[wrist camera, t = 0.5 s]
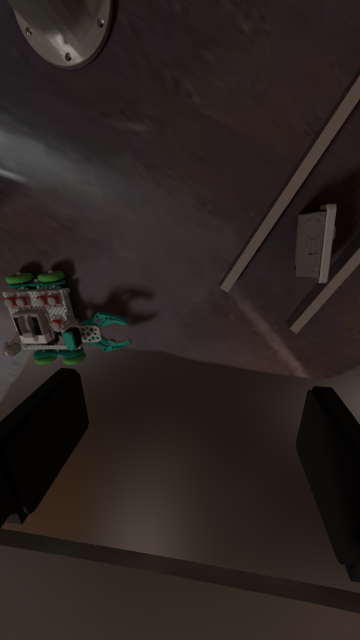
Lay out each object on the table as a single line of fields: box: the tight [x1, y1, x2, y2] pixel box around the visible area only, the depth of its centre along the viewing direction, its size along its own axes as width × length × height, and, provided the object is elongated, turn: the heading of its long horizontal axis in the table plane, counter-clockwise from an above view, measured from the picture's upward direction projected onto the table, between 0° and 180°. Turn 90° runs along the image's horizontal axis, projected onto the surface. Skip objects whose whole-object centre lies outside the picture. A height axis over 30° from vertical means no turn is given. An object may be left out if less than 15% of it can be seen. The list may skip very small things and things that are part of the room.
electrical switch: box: [294, 204, 336, 283], centre depth 32 cm, size 9×5×9 cm, turn 6°
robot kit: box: [3, 270, 131, 365], centre depth 42 cm, size 19×25×9 cm
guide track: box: [219, 68, 360, 333], centre depth 31 cm, size 15×40×5 cm, turn 151°
